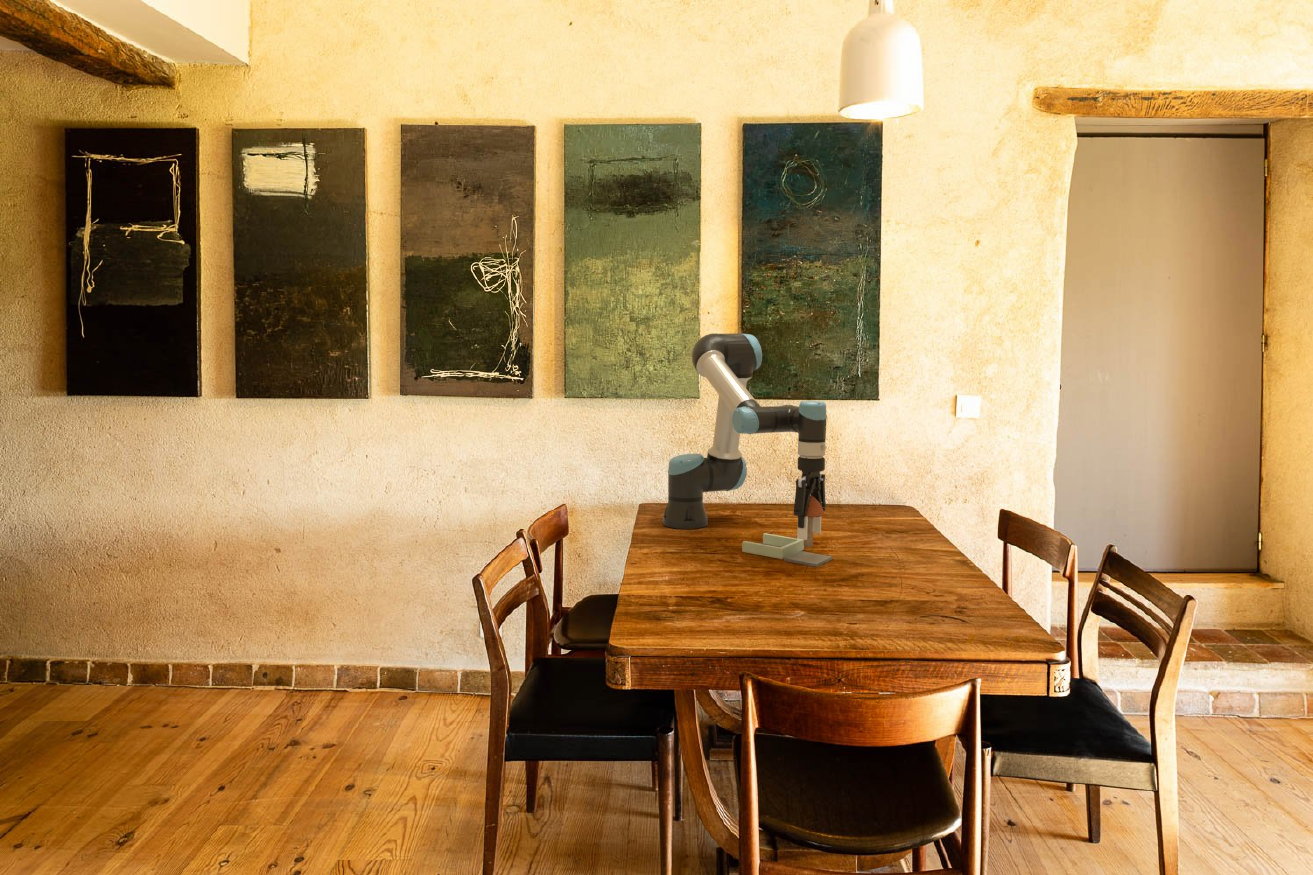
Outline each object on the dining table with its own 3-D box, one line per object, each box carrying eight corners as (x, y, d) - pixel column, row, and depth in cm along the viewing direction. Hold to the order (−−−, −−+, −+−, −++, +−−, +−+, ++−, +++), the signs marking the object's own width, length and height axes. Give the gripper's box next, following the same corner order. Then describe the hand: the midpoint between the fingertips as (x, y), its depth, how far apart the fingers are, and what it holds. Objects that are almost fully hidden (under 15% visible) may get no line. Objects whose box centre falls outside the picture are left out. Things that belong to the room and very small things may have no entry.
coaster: (784, 560, 233) (784, 558, 233) (800, 553, 241) (800, 550, 241) (816, 566, 227) (816, 564, 227) (832, 559, 235) (832, 556, 235)
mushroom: (818, 552, 228) (820, 498, 226) (790, 548, 232) (792, 496, 230) (826, 545, 235) (828, 494, 233) (799, 542, 239) (801, 491, 237)
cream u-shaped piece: (742, 551, 242) (742, 541, 242) (764, 542, 253) (765, 533, 253) (782, 559, 235) (782, 548, 234) (803, 549, 245) (804, 539, 245)
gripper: (806, 462, 220) (804, 545, 222) (839, 453, 236) (837, 531, 239) (781, 459, 224) (779, 541, 227) (815, 451, 241) (813, 527, 243)
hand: (809, 535), depth 233 cm, fingers closed on mushroom, 8 cm apart
